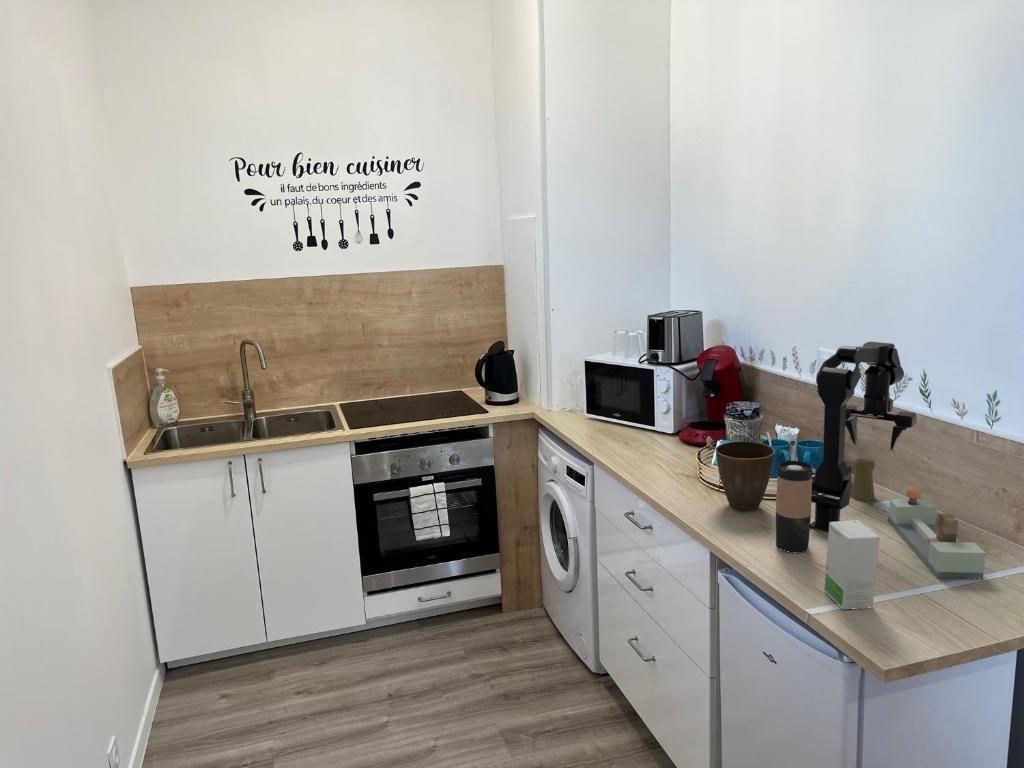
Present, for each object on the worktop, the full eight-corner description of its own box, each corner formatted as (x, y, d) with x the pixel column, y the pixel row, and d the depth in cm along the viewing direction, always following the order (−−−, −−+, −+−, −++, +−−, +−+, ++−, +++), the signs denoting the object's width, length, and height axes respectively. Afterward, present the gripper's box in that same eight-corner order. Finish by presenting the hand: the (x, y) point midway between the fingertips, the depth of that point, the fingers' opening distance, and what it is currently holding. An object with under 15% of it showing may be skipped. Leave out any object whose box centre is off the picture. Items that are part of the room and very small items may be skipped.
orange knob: (922, 506, 183) (923, 491, 182) (908, 506, 184) (909, 491, 183) (917, 501, 186) (918, 486, 185) (903, 501, 187) (904, 486, 186)
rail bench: (983, 579, 159) (985, 552, 158) (937, 578, 160) (939, 552, 159) (926, 522, 188) (928, 499, 187) (888, 521, 189) (889, 499, 188)
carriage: (964, 553, 164) (967, 521, 162) (935, 553, 165) (937, 521, 163) (955, 544, 169) (957, 512, 167) (926, 543, 169) (928, 512, 168)
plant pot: (742, 522, 193) (744, 462, 189) (703, 504, 206) (703, 447, 202) (785, 509, 200) (787, 451, 196) (744, 492, 213) (745, 438, 209)
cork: (877, 501, 202) (879, 462, 200) (852, 500, 203) (855, 461, 201) (871, 493, 208) (873, 454, 206) (847, 492, 209) (849, 454, 207)
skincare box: (823, 591, 157) (826, 521, 154) (853, 588, 158) (857, 518, 154) (843, 611, 149) (848, 538, 145) (876, 609, 149) (881, 535, 146)
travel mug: (808, 541, 180) (812, 461, 176) (810, 555, 173) (813, 472, 169) (774, 538, 183) (777, 459, 178) (774, 551, 176) (777, 469, 171)
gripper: (923, 387, 199) (919, 445, 202) (849, 380, 211) (846, 434, 214) (913, 396, 191) (908, 455, 194) (836, 388, 203) (833, 444, 206)
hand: (873, 446), depth 202 cm, fingers open, 9 cm apart
